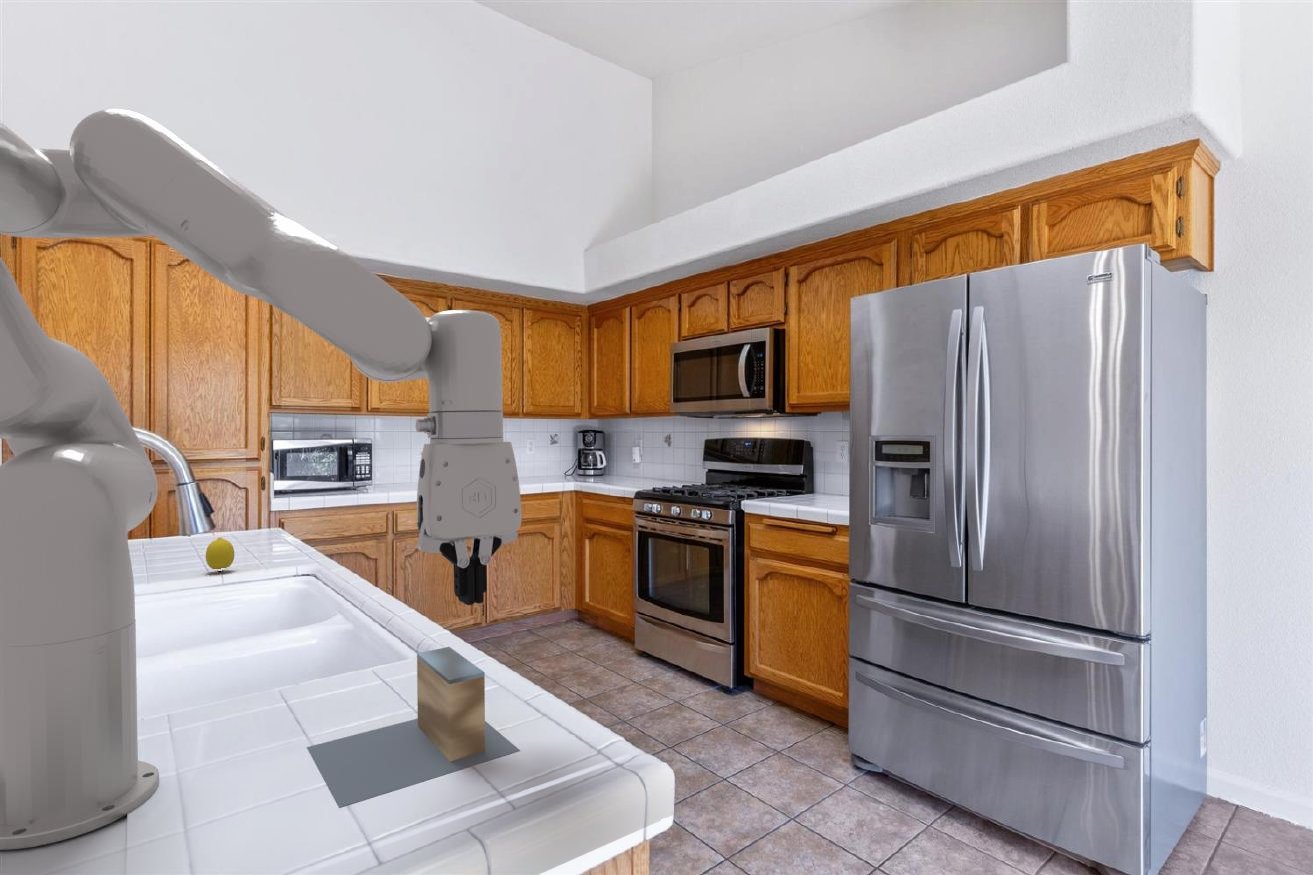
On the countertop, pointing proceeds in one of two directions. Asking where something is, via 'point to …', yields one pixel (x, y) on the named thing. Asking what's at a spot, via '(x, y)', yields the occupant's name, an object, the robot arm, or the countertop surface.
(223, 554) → the lemon
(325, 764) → the mat
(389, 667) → the countertop surface
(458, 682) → the oak slab
